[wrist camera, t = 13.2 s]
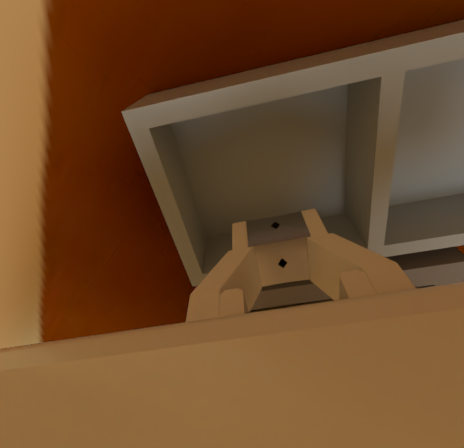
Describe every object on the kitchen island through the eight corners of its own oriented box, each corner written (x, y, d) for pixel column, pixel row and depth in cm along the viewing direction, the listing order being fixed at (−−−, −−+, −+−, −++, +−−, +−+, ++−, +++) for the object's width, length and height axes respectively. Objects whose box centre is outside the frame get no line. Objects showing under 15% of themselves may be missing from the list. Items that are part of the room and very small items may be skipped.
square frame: (399, 344, 26) (424, 389, 22) (250, 361, 27) (253, 406, 24) (426, 220, 18) (470, 260, 15) (217, 254, 20) (214, 298, 16)
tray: (597, -13, 12) (744, -33, 8) (516, 189, 17) (586, 226, 14) (147, 94, 14) (121, 111, 11) (199, 243, 19) (192, 286, 16)
